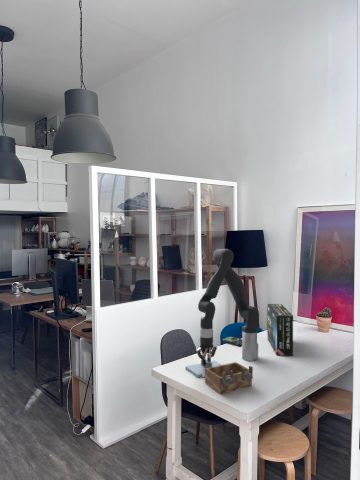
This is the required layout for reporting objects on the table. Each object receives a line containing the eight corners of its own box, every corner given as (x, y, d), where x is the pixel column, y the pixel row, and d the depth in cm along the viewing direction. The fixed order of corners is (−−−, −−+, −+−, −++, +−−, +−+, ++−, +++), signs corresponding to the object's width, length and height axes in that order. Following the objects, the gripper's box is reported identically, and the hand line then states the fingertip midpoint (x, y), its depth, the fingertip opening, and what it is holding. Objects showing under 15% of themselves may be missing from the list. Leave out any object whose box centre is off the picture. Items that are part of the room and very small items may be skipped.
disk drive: (247, 344, 258) (230, 339, 268) (247, 340, 258) (230, 335, 268) (239, 347, 250) (221, 342, 260) (239, 343, 250) (221, 338, 260)
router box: (266, 339, 268) (266, 303, 267) (281, 339, 267) (281, 303, 266) (276, 356, 232) (276, 315, 231) (293, 356, 232) (294, 315, 231)
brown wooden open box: (235, 376, 201) (235, 356, 200) (254, 387, 186) (254, 366, 186) (205, 383, 191) (205, 362, 191) (222, 395, 177) (222, 373, 177)
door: (214, 363, 220) (214, 354, 220) (229, 372, 206) (229, 363, 206) (185, 369, 211) (185, 360, 211) (199, 379, 197) (199, 369, 197)
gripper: (213, 332, 215) (213, 360, 216) (192, 335, 209) (192, 364, 209) (220, 335, 208) (220, 365, 209) (199, 338, 202) (199, 369, 203)
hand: (206, 364), depth 209 cm, fingers closed on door, 2 cm apart
